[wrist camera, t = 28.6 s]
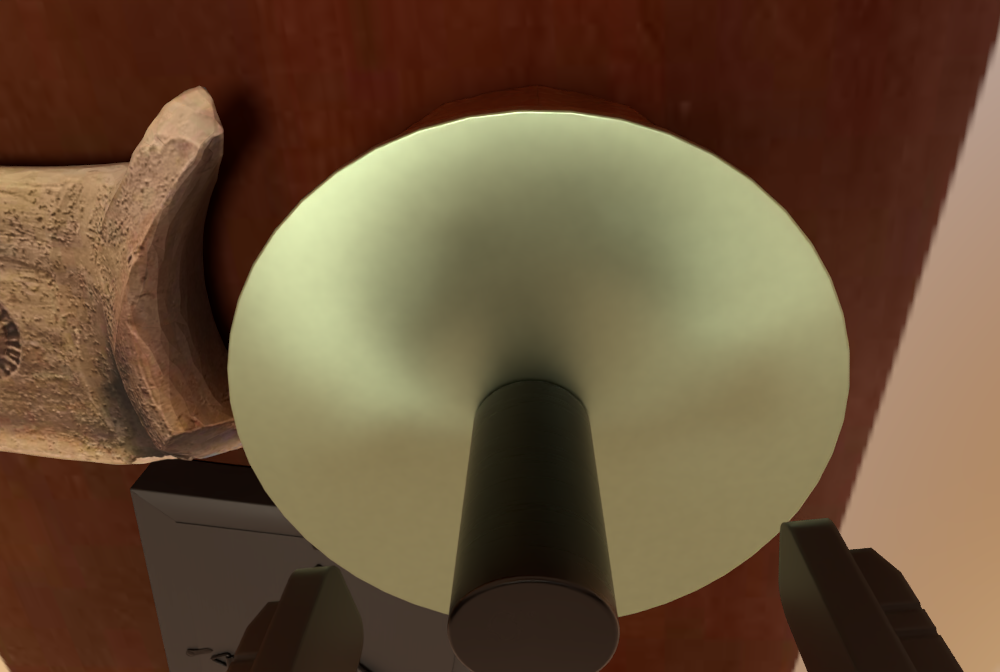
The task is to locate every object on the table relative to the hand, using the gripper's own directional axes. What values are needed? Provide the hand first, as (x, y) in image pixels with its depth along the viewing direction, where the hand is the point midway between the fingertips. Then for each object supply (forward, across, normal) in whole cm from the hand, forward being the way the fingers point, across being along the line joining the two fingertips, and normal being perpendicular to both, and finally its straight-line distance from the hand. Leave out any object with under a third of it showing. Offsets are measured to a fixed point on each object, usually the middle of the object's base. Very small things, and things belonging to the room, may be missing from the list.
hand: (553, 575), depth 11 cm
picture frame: (+13, +14, +17) cm, 26 cm away
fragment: (+13, +17, -4) cm, 21 cm away
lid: (+6, 0, 0) cm, 6 cm away
